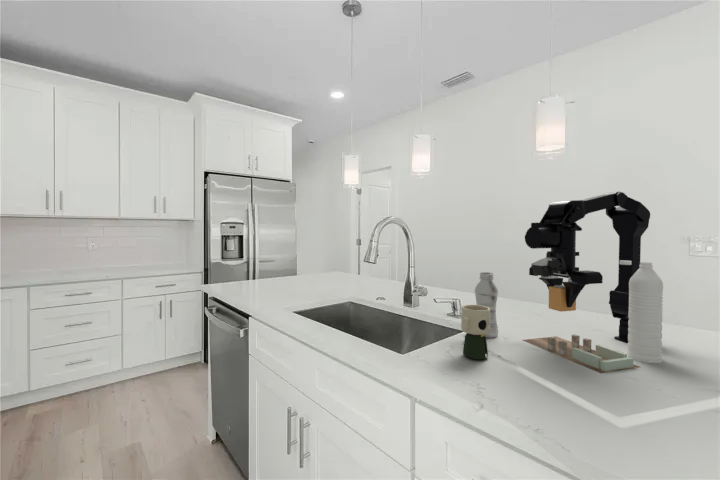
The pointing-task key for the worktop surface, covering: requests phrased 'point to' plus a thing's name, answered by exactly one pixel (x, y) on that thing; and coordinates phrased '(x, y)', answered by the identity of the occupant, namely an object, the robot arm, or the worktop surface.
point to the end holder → (615, 357)
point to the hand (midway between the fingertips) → (562, 305)
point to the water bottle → (645, 314)
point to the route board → (569, 349)
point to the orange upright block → (559, 299)
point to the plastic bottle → (488, 300)
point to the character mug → (475, 330)
